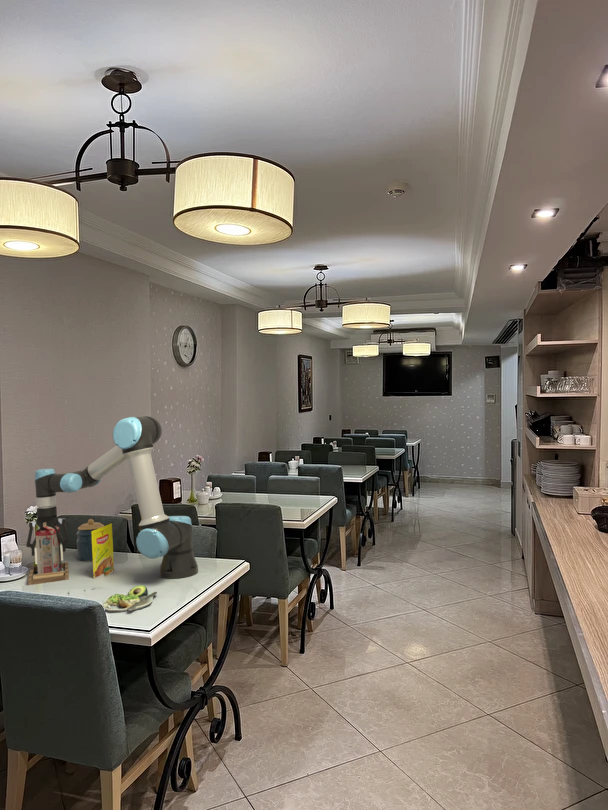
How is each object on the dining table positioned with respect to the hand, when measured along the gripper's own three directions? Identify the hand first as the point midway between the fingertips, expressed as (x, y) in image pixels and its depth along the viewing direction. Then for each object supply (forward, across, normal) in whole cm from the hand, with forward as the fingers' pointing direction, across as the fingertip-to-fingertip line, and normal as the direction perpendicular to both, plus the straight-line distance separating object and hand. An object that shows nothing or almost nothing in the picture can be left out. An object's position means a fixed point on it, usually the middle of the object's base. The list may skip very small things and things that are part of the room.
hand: (49, 561), depth 242 cm
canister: (+6, -17, -24) cm, 30 cm away
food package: (+7, -20, +12) cm, 24 cm away
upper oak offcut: (+5, 0, +10) cm, 11 cm away
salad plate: (+7, -26, +52) cm, 59 cm away
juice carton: (+6, 0, 0) cm, 6 cm away
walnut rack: (+6, 0, +4) cm, 7 cm away
